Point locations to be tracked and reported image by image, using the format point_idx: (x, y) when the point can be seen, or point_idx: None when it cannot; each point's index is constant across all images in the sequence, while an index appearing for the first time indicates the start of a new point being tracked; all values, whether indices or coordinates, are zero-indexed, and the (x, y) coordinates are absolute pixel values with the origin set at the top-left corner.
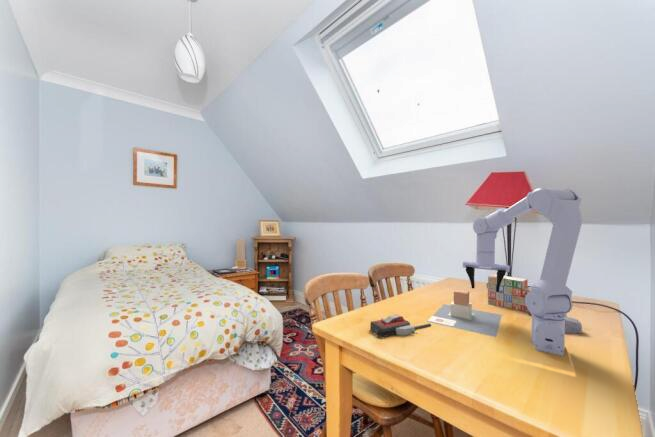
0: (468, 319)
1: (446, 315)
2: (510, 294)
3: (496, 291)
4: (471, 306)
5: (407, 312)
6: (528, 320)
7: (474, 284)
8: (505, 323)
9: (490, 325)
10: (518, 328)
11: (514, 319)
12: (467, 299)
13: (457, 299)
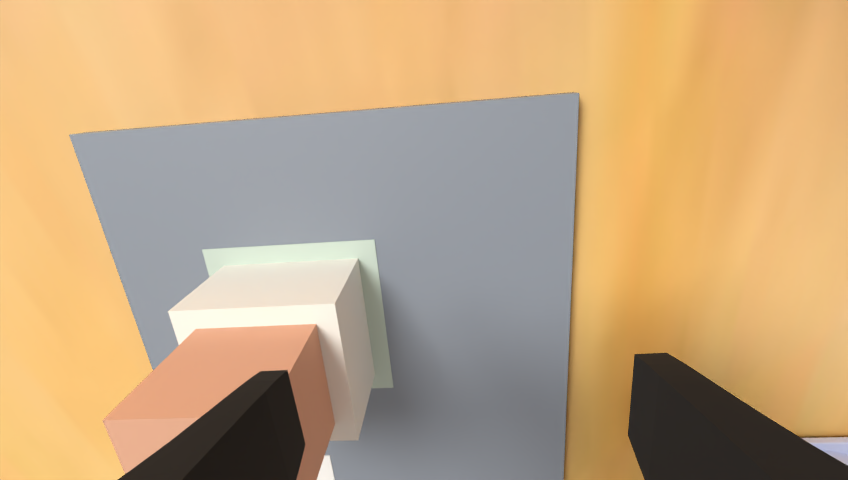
0: (377, 390)
1: None
2: None
3: (632, 438)
4: (345, 305)
5: (36, 441)
6: (804, 16)
7: (264, 406)
8: (601, 250)
9: (517, 413)
10: (683, 299)
11: (677, 83)
12: (315, 455)
13: None
